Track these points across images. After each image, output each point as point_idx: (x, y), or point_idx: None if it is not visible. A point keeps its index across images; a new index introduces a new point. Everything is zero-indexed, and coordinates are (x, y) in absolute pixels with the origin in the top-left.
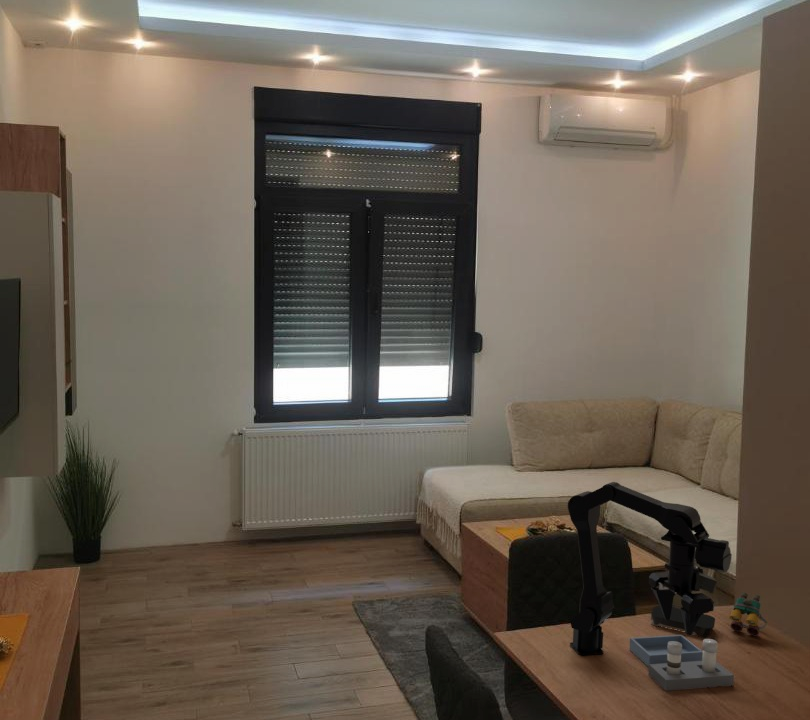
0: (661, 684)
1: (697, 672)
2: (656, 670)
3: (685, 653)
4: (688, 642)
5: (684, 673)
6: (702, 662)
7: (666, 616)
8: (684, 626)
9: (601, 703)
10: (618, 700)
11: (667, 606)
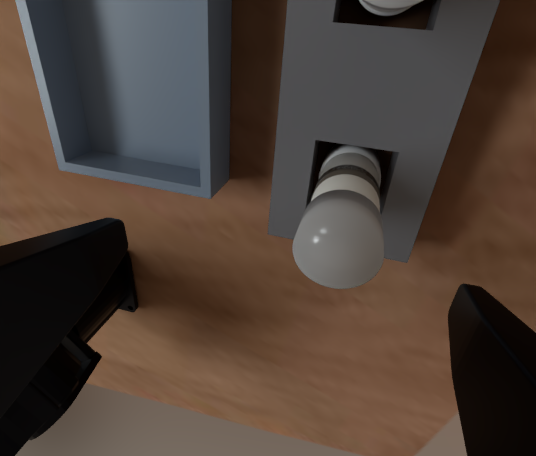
0: None
1: (408, 77)
2: None
3: (208, 3)
4: None
5: (386, 149)
6: (376, 8)
7: (111, 262)
8: (462, 416)
9: (387, 413)
10: (392, 379)
11: (29, 312)
